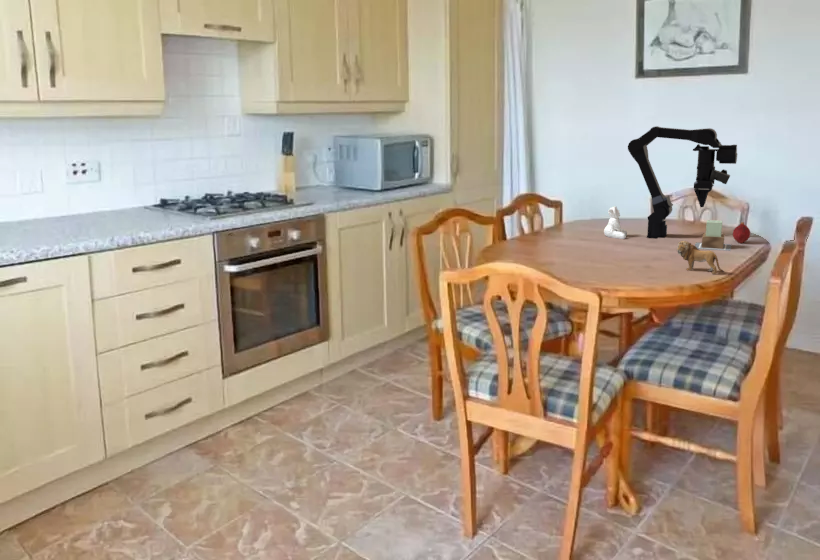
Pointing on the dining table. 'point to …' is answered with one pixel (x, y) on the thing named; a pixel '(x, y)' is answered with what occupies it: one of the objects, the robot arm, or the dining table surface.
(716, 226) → the sage block
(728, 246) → the blueprint mat
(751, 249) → the dining table surface
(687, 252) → the lion figurine
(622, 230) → the white creature statuette
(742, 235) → the onion
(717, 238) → the walnut base
